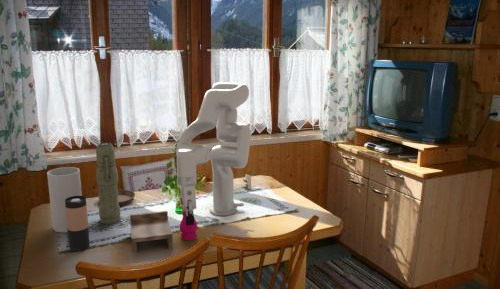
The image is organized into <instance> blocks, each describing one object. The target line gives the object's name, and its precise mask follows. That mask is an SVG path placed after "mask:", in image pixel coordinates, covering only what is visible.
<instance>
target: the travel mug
mask: <svg viewBox="0 0 500 289" xmlns="http://www.w3.org/2000/svg"><path fill="white" fill-rule="evenodd" d="M87 204H88V203H87V197H86V196H84V195H82V196H72V197H68V198H66V199H65V208H66V220H67V230H68V232H67V236H68V244H69V250H70V251H71V252H75V253H76V252H77V253H81V252H84V251H87V250H88V249H89V248H90V246H91V245H90V228H89V218H88V217H89V216H88V207H87V206H88V205H87Z"/></svg>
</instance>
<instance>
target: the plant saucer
mask: <svg viewBox="0 0 500 289" xmlns="http://www.w3.org/2000/svg"><path fill="white" fill-rule="evenodd" d="M135 196H136V193H135V192H134V191H132V190H128V189H127V190H126V189H118V203H119V206H123V205H127V204H129V203H130V202H132V201H133V200H134V198H135ZM98 200H99V196H98Z"/></svg>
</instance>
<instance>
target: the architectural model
mask: <svg viewBox="0 0 500 289" xmlns="http://www.w3.org/2000/svg"><path fill="white" fill-rule="evenodd" d="M244 177H245V178H243V179H242V180H241V179H240V180H239V182H241V183H242V184H243V185H244V186H245V189H248V190H251V189H252V176H251V175H249V174H247V173H245V175H244Z"/></svg>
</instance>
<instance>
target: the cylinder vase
mask: <svg viewBox="0 0 500 289" xmlns="http://www.w3.org/2000/svg"><path fill="white" fill-rule="evenodd" d="M46 174H47V175H46V176H47V186H48V193H49V195H48V196H49V204H50V212H51V213H50V214H51V223H52V229H53V230H54V231H55V232H56V233H63V234H65V233H68V230H67V220H66V208H65V199H66V198H68V197H72V196H83V195H82V182H81V171H80V168H78V167H74V166H72V167H70V166H67V167H66V166H65V167H58V168H54V169H50V170H48V171H47V172H46Z"/></svg>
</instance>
